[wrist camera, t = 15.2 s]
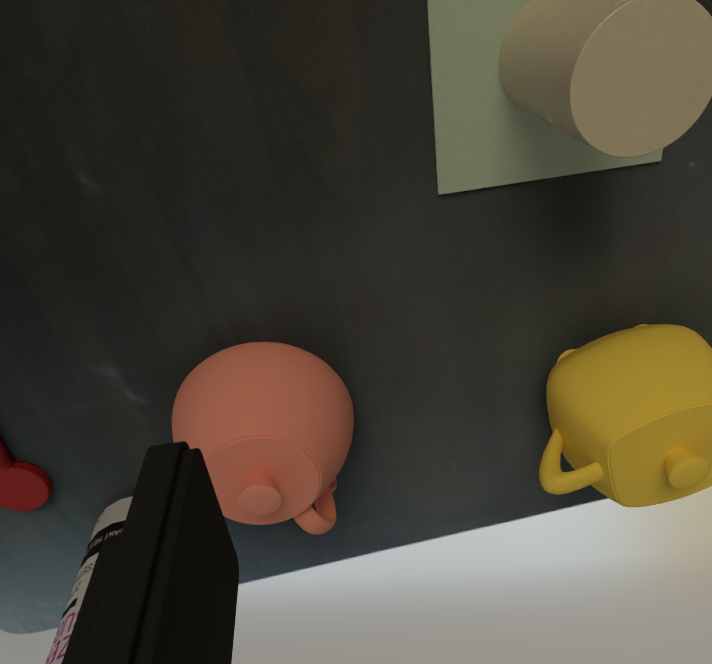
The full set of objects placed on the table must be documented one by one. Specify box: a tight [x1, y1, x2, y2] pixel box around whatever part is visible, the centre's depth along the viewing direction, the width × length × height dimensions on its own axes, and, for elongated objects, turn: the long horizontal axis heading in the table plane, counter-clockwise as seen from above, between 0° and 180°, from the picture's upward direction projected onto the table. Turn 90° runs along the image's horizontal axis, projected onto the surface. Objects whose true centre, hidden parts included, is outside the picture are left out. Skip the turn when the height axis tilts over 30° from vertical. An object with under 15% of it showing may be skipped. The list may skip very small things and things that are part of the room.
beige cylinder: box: [499, 0, 712, 158], centre depth 29 cm, size 6×6×10 cm
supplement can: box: [46, 496, 133, 664], centre depth 43 cm, size 8×8×15 cm
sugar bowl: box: [172, 342, 354, 535], centre depth 40 cm, size 12×14×10 cm
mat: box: [427, 0, 663, 195], centre depth 34 cm, size 14×14×1 cm
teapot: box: [539, 324, 712, 507], centre depth 41 cm, size 18×11×11 cm, turn 110°
